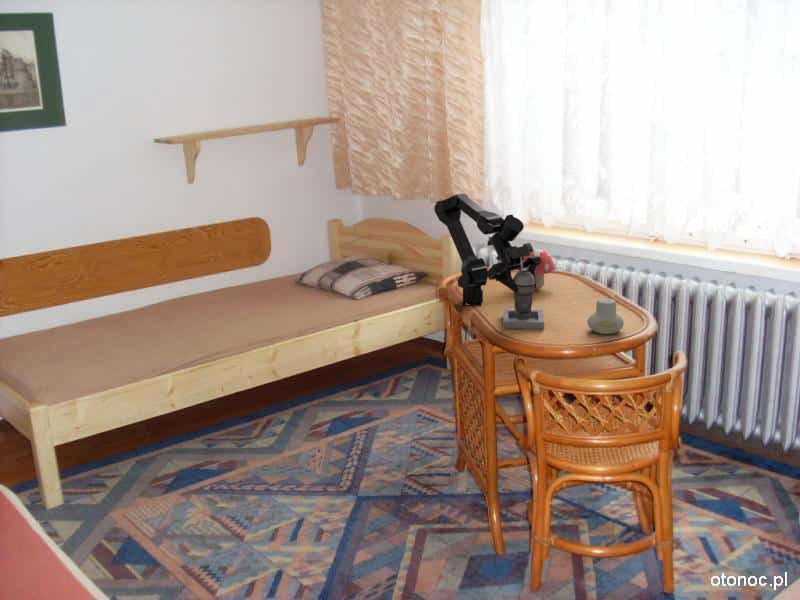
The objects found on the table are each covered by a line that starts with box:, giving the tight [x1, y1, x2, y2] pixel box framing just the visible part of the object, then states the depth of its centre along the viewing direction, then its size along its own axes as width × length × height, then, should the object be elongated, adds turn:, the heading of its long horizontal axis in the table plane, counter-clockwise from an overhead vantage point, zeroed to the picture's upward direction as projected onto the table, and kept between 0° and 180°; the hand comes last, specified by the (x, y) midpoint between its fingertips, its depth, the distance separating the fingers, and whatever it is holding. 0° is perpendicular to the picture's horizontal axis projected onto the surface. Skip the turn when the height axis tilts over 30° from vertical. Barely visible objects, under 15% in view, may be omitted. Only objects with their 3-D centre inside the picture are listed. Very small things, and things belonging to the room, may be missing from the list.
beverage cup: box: [512, 257, 535, 320], centre depth 279 cm, size 7×7×20 cm
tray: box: [502, 309, 545, 331], centre depth 282 cm, size 13×13×2 cm
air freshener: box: [586, 297, 625, 335], centre depth 271 cm, size 11×8×10 cm
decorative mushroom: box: [517, 248, 555, 291], centre depth 315 cm, size 13×13×15 cm
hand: (526, 290), depth 278 cm, fingers closed on beverage cup, 7 cm apart
